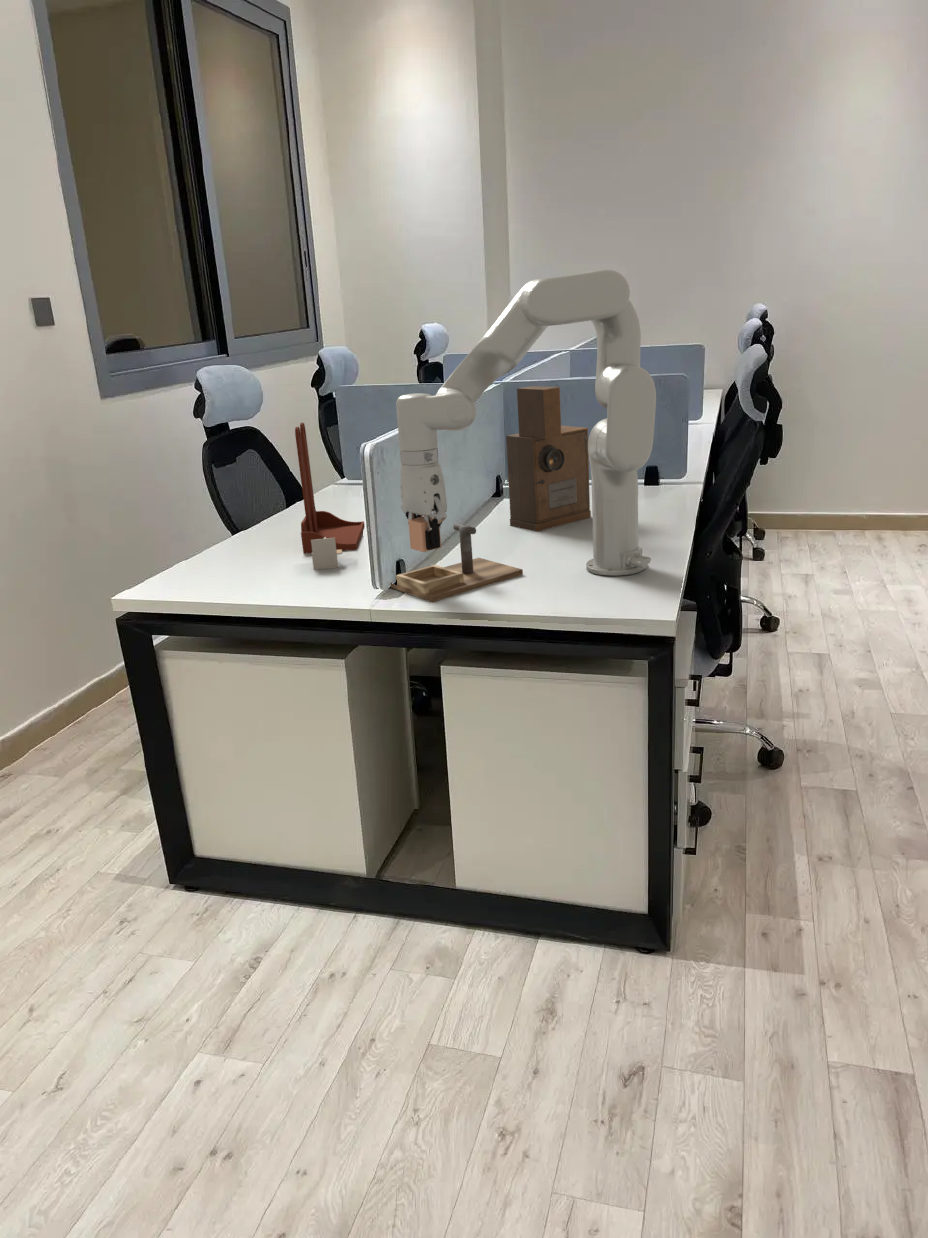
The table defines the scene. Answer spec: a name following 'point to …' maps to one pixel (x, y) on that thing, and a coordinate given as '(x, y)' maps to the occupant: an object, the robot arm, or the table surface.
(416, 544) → the salmon orange block
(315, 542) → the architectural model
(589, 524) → the table surface
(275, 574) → the table surface
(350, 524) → the red dustpan
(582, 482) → the vintage camera
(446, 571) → the wooden board with post
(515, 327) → the robot arm
